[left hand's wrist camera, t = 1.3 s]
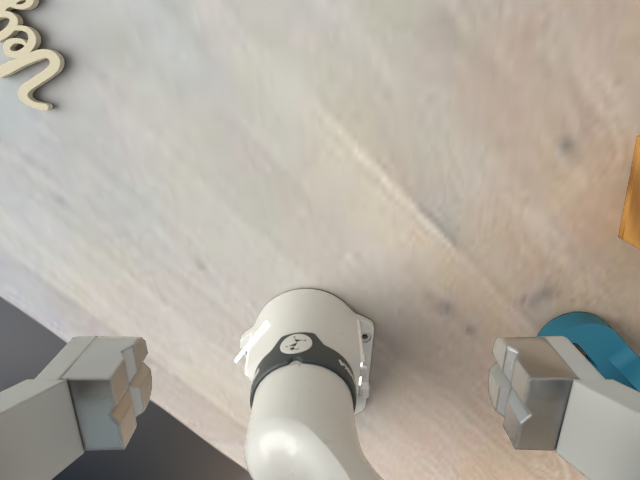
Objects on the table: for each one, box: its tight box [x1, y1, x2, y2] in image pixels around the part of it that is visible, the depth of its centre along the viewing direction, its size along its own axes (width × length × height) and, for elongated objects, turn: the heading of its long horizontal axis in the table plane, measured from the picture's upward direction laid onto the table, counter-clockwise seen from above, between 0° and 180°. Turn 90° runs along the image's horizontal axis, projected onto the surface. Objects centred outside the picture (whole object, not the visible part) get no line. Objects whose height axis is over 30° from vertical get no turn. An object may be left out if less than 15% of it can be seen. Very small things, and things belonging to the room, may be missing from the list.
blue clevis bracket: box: [537, 312, 640, 392], centre depth 60 cm, size 18×10×10 cm, turn 44°
